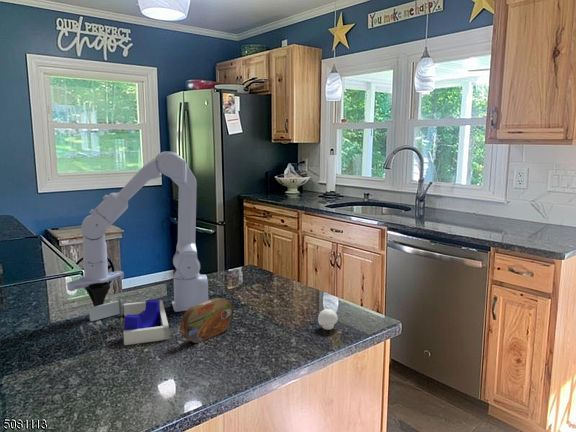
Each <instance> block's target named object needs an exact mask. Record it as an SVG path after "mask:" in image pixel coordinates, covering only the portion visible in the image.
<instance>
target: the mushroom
mask: <svg viewBox="0 0 576 432" xmlns="http://www.w3.org/2000/svg"><path fill="white" fill-rule="evenodd" d="M338 319H339V318H338V314H337V313H336V312H335V311H334V310H333V309H330V308H326V309H325V308H324V309H323V310H321V311H320V312H319V313H318V317H317V322H318V324H319V326H321V328H322V329H323V330H327V331H328V330H332V329H333V328H334V327H335V324H337V322H338Z"/></svg>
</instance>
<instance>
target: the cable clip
mask: <svg viewBox="0 0 576 432" xmlns="http://www.w3.org/2000/svg"><path fill="white" fill-rule="evenodd" d="M159 300H160V299H157V300H155V299H148V300H145V301H146V309H145V311H142V312H141V313H140V314H137V315H127V316H124V331H126V330H134V329H142V328H150V327H157V326H158V325H159V323H160V301H159ZM160 324H161V323H160Z"/></svg>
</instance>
